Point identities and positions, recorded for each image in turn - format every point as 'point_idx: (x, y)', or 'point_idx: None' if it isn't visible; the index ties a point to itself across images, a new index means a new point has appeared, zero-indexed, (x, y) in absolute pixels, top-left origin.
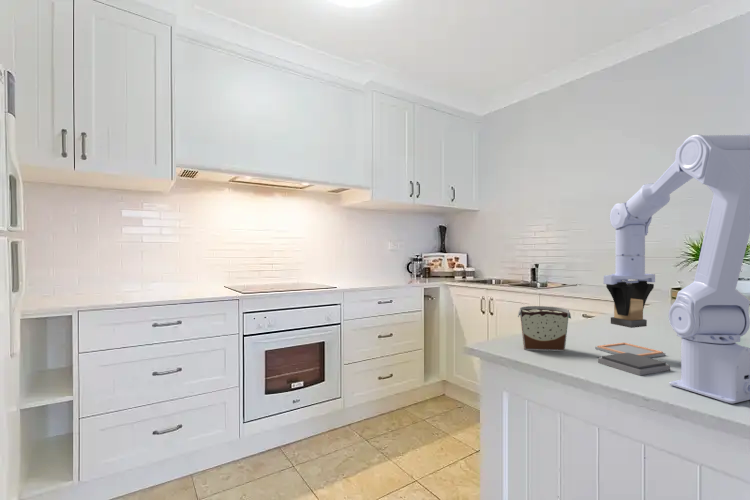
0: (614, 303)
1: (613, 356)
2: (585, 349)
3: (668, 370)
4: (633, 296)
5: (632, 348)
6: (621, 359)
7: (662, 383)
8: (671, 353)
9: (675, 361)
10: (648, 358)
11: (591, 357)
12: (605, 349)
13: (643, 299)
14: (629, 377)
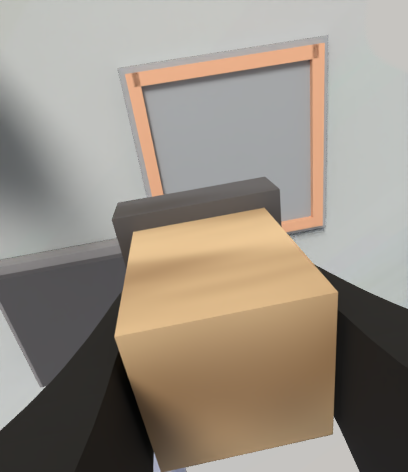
0: (123, 297)
1: (36, 290)
2: (59, 62)
3: None
4: (355, 378)
5: (272, 139)
6: (41, 323)
7: None
8: (372, 204)
9: None
10: None
11: (5, 195)
12: (134, 126)
13: (343, 433)
14: (3, 383)
